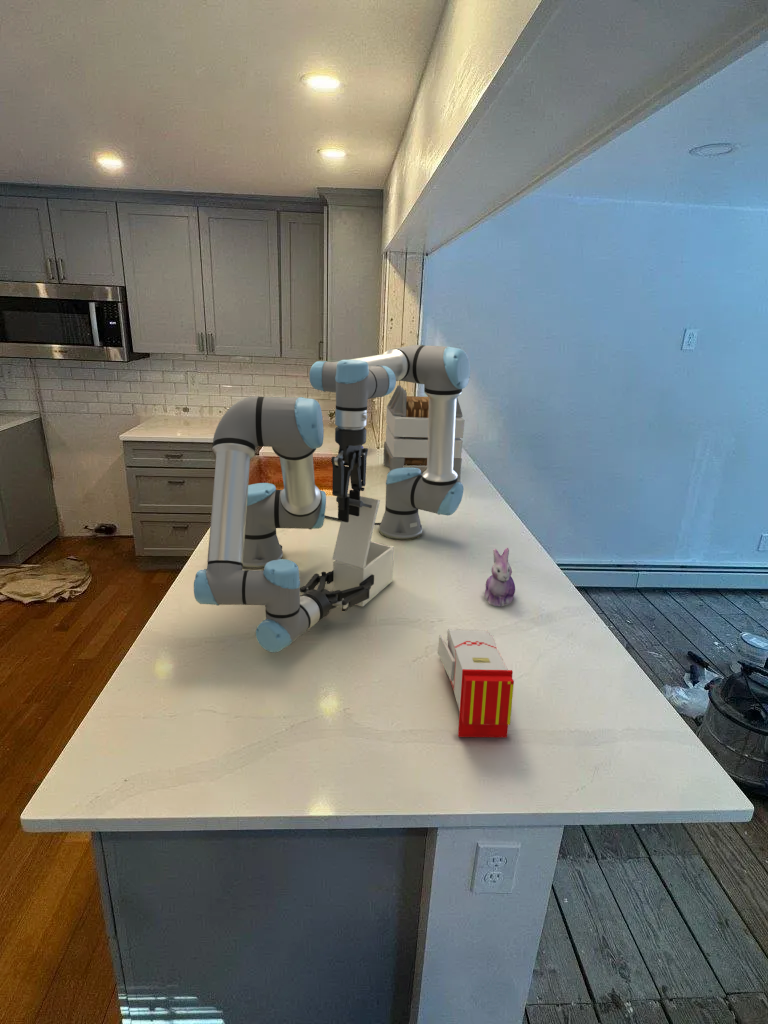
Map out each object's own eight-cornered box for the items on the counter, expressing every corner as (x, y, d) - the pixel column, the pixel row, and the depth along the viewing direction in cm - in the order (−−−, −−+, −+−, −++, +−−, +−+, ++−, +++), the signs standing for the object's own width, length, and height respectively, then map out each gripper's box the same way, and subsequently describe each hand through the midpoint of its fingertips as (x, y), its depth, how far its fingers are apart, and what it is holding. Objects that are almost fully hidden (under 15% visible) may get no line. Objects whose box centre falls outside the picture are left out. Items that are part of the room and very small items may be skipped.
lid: (349, 493, 151) (334, 489, 144) (380, 500, 147) (366, 496, 140) (334, 559, 151) (318, 558, 143) (364, 567, 147) (349, 567, 139)
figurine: (497, 611, 151) (503, 559, 146) (474, 594, 159) (479, 545, 154) (524, 604, 155) (532, 554, 150) (501, 588, 163) (507, 540, 158)
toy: (488, 613, 130) (523, 677, 101) (484, 667, 133) (517, 744, 104) (435, 612, 130) (455, 676, 101) (432, 666, 133) (451, 743, 103)
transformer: (382, 463, 289) (386, 382, 275) (445, 464, 293) (451, 384, 279) (390, 482, 257) (394, 392, 243) (460, 483, 261) (468, 394, 247)
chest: (364, 573, 169) (365, 539, 165) (392, 580, 165) (394, 546, 161) (333, 597, 154) (333, 561, 150) (362, 606, 150) (363, 570, 146)
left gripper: (272, 611, 141) (322, 577, 160) (347, 636, 131) (392, 597, 150) (271, 584, 138) (323, 552, 157) (348, 608, 129) (393, 571, 148)
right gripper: (344, 435, 127) (342, 531, 135) (382, 423, 142) (378, 511, 149) (316, 430, 130) (316, 525, 138) (356, 419, 145) (354, 505, 153)
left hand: (356, 574), depth 154 cm, fingers closed on chest, 9 cm apart
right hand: (348, 517), depth 144 cm, fingers open, 4 cm apart
